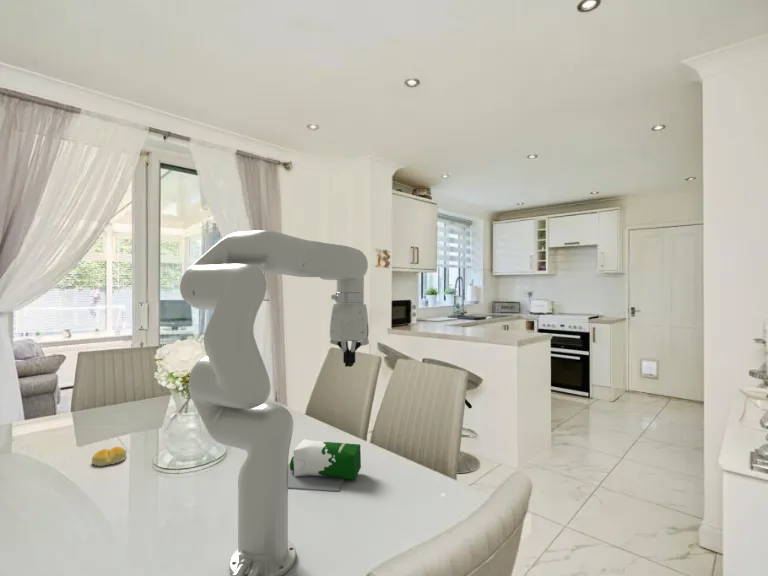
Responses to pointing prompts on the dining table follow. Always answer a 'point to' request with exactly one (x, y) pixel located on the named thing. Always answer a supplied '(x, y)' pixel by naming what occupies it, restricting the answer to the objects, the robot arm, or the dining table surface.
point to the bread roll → (109, 456)
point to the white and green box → (326, 459)
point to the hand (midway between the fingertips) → (349, 365)
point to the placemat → (313, 482)
